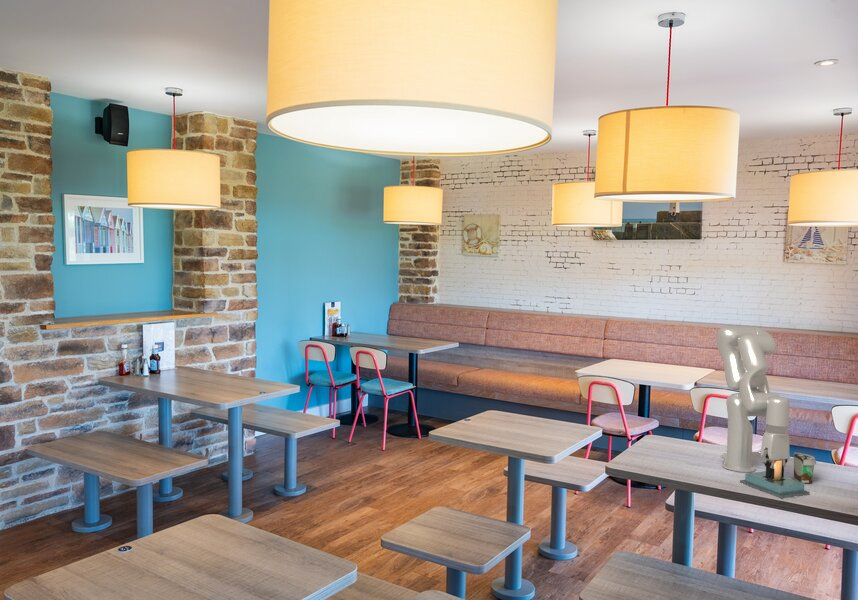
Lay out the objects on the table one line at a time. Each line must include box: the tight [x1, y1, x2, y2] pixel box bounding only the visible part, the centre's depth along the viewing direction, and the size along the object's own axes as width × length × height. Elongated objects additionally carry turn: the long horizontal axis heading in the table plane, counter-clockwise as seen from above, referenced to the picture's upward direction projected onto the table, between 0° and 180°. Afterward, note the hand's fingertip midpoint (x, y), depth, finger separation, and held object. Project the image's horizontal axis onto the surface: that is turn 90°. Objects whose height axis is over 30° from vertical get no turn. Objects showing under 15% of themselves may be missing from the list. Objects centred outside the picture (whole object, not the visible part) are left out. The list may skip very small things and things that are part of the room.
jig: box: [739, 470, 811, 499], centre depth 254 cm, size 19×14×4 cm
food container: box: [792, 451, 817, 485], centre depth 265 cm, size 12×6×10 cm, turn 168°
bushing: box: [768, 460, 782, 481], centre depth 254 cm, size 4×4×8 cm
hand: (774, 476), depth 254 cm, fingers closed on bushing, 4 cm apart
